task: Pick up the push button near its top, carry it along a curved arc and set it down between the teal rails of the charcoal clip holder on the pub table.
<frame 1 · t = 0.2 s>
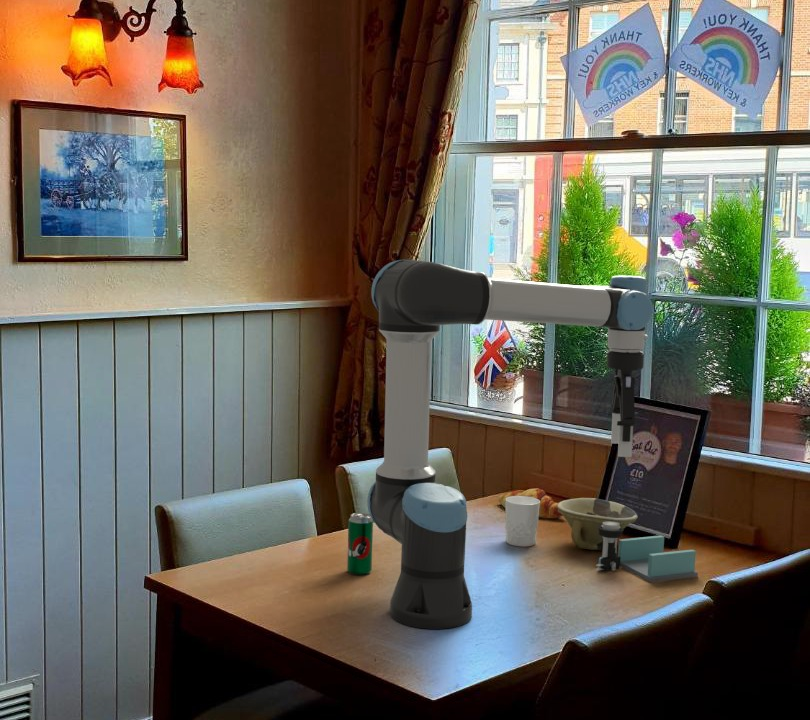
hand: (620, 449, 224), 26 cm above the table, fingers open, 13 cm apart
clip holder: (655, 570, 226), on the table
white cup: (520, 543, 244), on the table
croissant: (531, 513, 271), on the table
soda can: (359, 572, 219), on the table
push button: (606, 570, 226), on the table
bowl: (595, 547, 242), on the table
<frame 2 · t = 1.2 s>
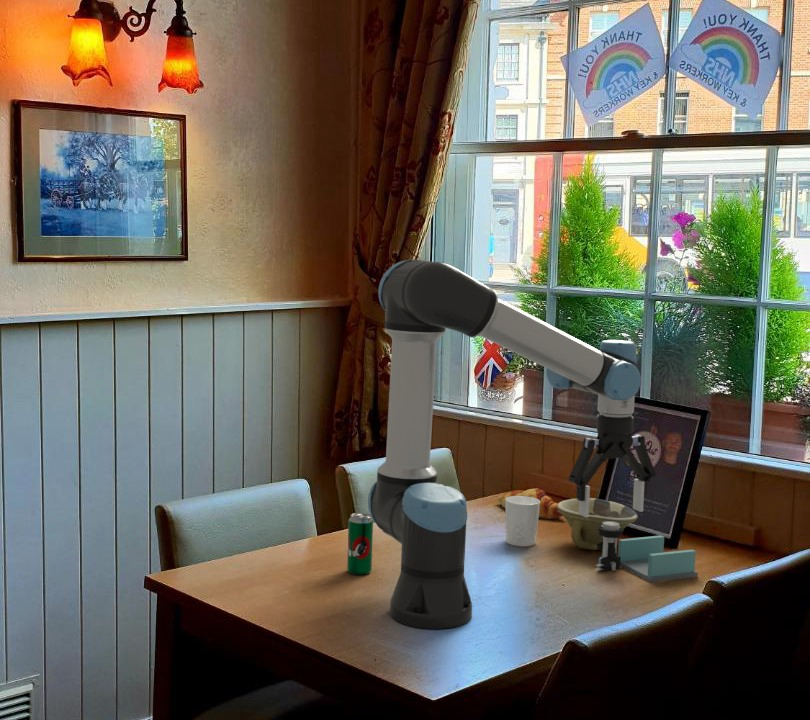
hand: (611, 512, 224), 12 cm above the table, fingers open, 13 cm apart
nothing on the table moved.
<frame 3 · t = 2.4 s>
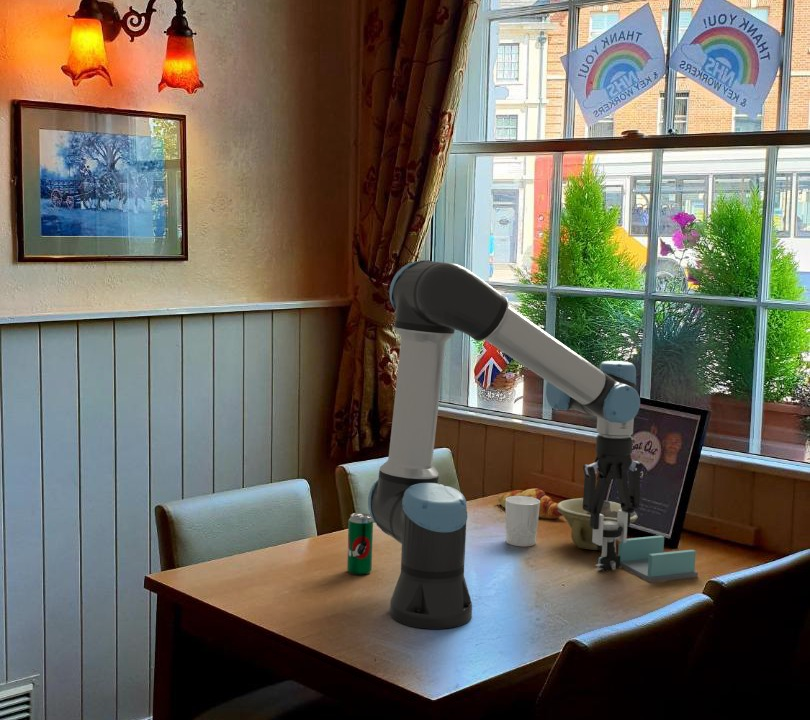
hand: (609, 542, 225), 6 cm above the table, fingers closed on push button, 5 cm apart
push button: (606, 570, 226), on the table, touching gripper
everything else where it was.
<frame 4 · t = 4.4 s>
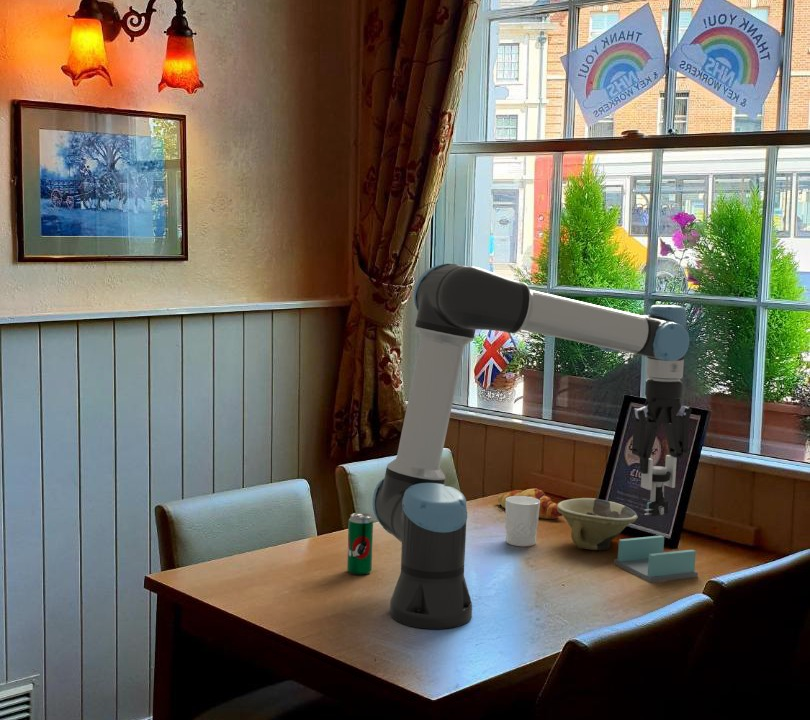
hand: (657, 487, 225), 18 cm above the table, fingers closed on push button, 5 cm apart
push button: (654, 515, 225), point 12 cm above the table, touching gripper
everything else where it was.
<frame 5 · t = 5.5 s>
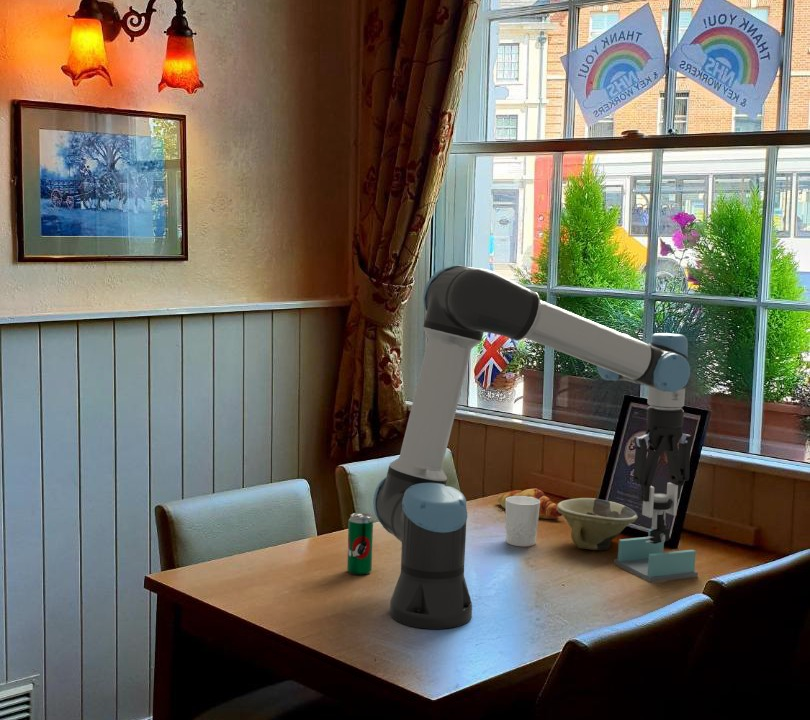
hand: (659, 514, 225), 12 cm above the table, fingers closed on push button, 5 cm apart
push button: (656, 542, 226), point 6 cm above the table, touching gripper
everything else where it was.
when the fingers open (8 cm above the table, at t = 6.5 s): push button drops 1 cm, resting on clip holder.
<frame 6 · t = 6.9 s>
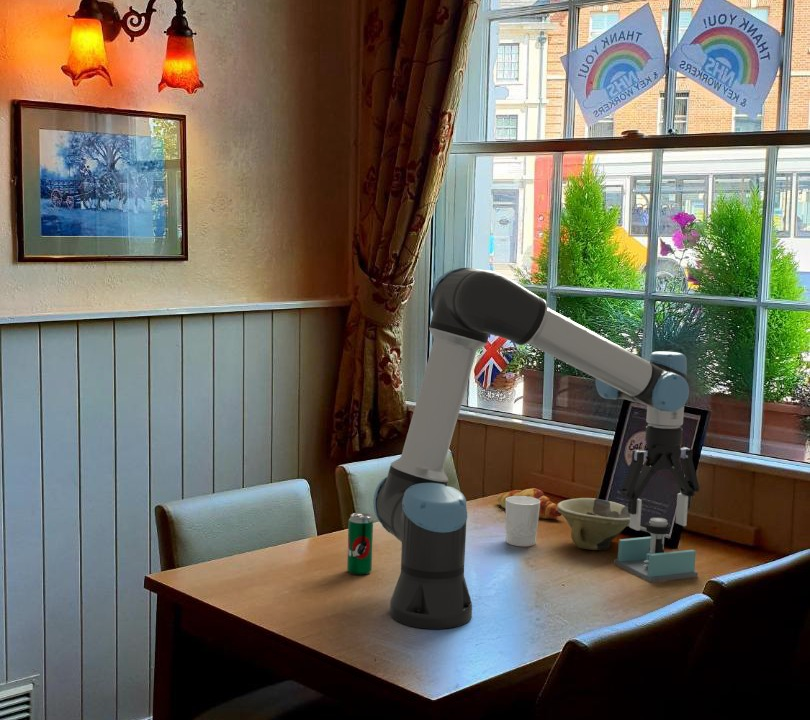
hand: (658, 526, 225), 10 cm above the table, fingers open, 11 cm apart
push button: (653, 566, 226), point 1 cm above the table, touching clip holder
everything else where it was.
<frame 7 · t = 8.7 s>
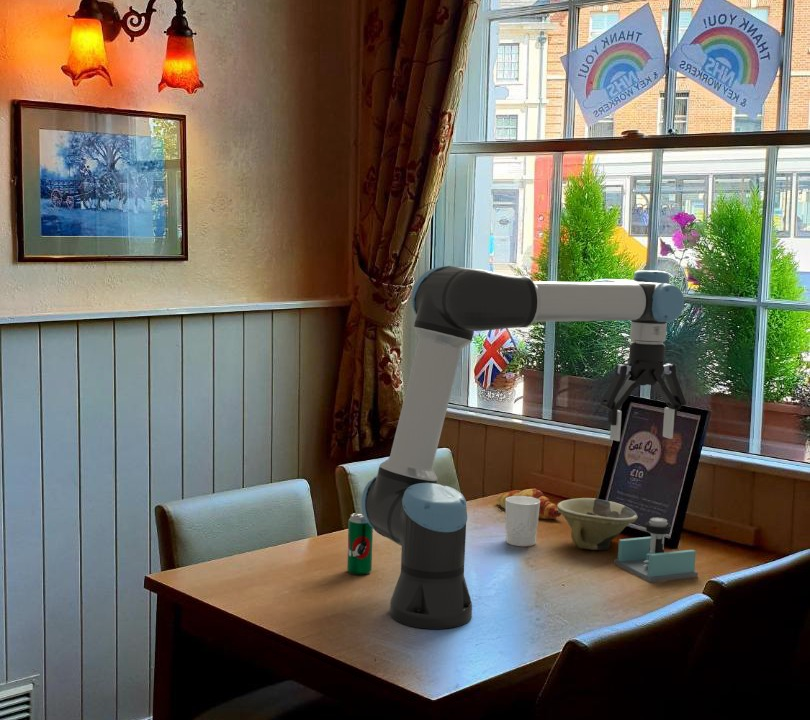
hand: (641, 438, 231), 27 cm above the table, fingers open, 13 cm apart
nothing on the table moved.
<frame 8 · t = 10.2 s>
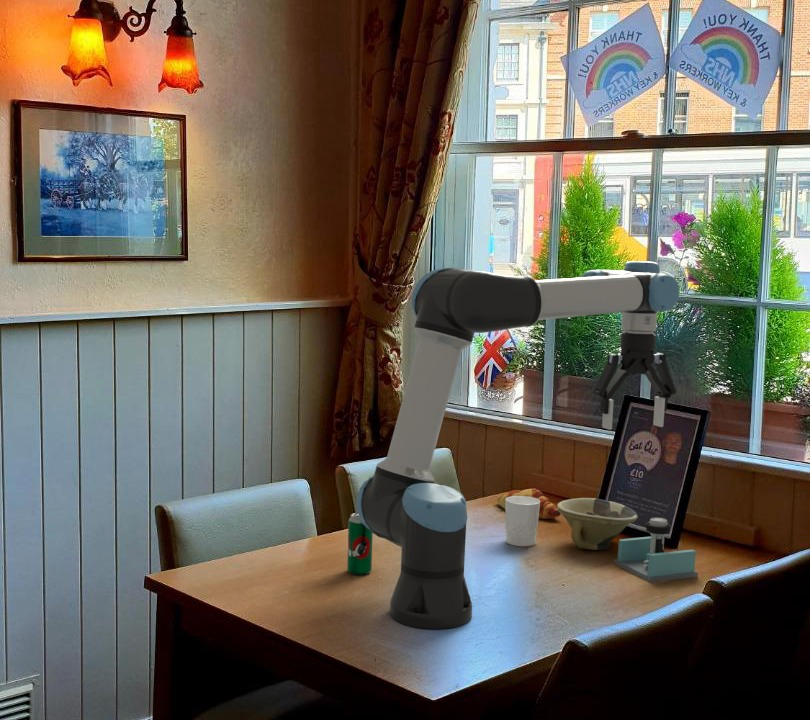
hand: (632, 427, 235), 29 cm above the table, fingers open, 13 cm apart
nothing on the table moved.
at the end: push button 0.4 cm off-centre on the clip holder, point 0.8 cm above the clip holder's base; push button tilted 0°; the gripper is holding nothing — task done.
